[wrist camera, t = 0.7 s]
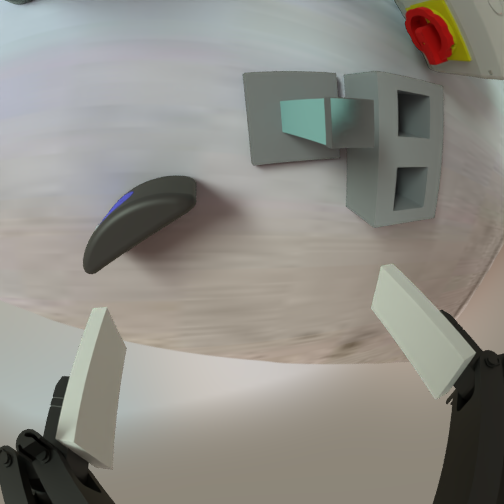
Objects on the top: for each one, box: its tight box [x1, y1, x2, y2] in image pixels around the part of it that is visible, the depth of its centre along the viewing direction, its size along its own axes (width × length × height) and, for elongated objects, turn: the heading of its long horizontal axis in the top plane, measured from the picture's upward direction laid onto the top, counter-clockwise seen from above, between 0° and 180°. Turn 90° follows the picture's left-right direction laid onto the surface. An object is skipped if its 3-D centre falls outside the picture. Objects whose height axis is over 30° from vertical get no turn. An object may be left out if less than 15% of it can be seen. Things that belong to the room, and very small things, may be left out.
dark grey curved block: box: [83, 176, 196, 274], centre depth 31 cm, size 16×5×9 cm, turn 118°
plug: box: [280, 97, 375, 148], centre depth 25 cm, size 4×4×14 cm
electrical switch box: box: [394, 0, 504, 80], centre depth 20 cm, size 14×15×20 cm
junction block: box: [344, 71, 444, 228], centre depth 33 cm, size 20×12×8 cm, turn 6°
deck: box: [243, 71, 340, 166], centre depth 32 cm, size 12×12×2 cm
